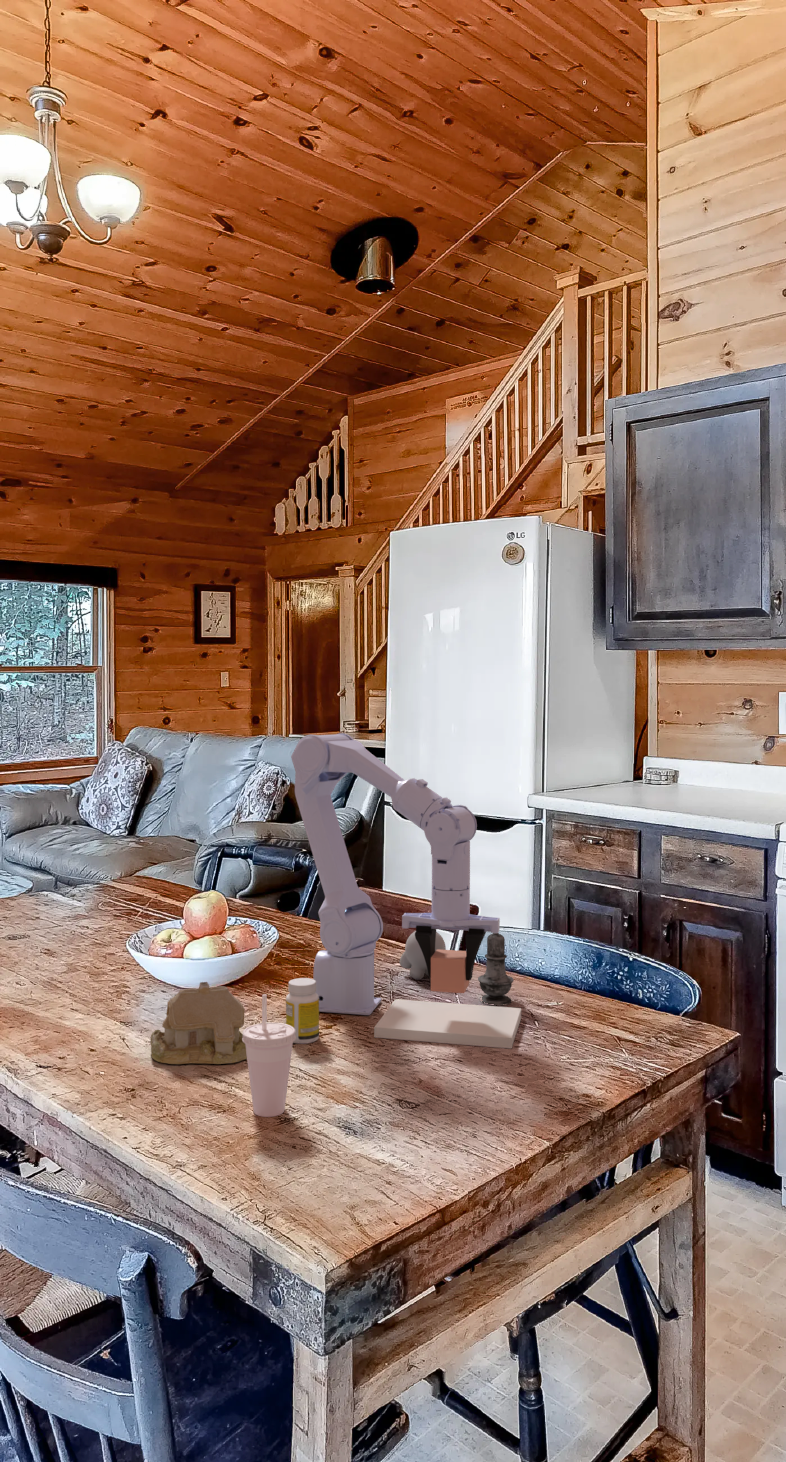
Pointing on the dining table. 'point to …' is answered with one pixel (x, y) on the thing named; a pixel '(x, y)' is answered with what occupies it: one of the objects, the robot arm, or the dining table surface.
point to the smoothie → (268, 1063)
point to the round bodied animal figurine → (418, 956)
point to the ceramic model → (201, 1028)
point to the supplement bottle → (303, 1010)
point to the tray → (449, 1023)
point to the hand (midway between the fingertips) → (450, 977)
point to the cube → (449, 971)
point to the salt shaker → (495, 972)
